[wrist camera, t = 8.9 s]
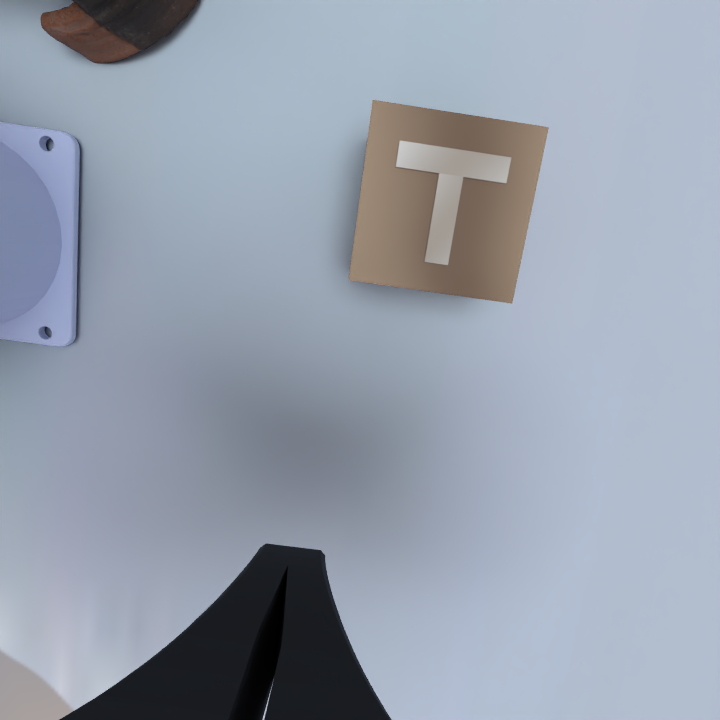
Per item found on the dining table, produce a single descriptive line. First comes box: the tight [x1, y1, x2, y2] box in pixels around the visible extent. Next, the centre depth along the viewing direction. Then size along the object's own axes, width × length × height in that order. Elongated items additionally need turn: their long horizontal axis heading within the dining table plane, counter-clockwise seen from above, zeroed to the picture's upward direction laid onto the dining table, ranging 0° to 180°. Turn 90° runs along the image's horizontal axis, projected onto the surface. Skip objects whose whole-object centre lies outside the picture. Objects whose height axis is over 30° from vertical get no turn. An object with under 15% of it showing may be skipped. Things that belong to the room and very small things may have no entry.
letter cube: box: [349, 100, 549, 303], centre depth 17 cm, size 5×5×5 cm
